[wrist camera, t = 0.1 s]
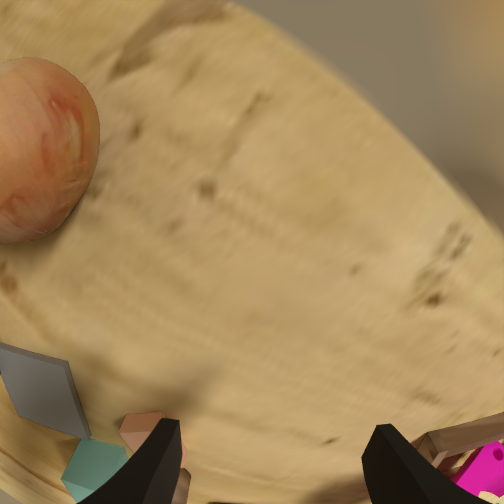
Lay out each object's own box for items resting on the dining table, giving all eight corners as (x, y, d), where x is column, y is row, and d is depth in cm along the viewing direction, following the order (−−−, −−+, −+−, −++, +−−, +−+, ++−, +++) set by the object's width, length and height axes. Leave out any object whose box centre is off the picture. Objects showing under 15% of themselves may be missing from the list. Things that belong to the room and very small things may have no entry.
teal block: (132, 471, 25) (117, 515, 20) (94, 461, 25) (76, 502, 20) (124, 446, 24) (105, 493, 18) (82, 436, 24) (60, 478, 18)
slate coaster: (91, 435, 24) (88, 440, 23) (22, 411, 24) (18, 416, 23) (67, 361, 21) (63, 366, 21) (-6, 340, 21) (-11, 344, 20)
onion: (86, 46, 15) (-15, -7, 5) (157, 166, 17) (58, 177, 8) (-5, 138, 17) (-109, 146, 7) (51, 250, 19) (-51, 310, 9)
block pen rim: (504, 453, 26) (513, 466, 24) (392, 488, 26) (398, 507, 23) (540, 398, 24) (551, 411, 21) (427, 432, 23) (438, 453, 21)
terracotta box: (187, 447, 24) (183, 467, 22) (153, 449, 24) (147, 469, 22) (162, 409, 23) (155, 430, 20) (127, 412, 23) (118, 432, 21)
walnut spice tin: (192, 485, 26) (187, 515, 22) (154, 479, 26) (146, 508, 22) (189, 465, 25) (183, 498, 21) (148, 458, 24) (138, 490, 21)
